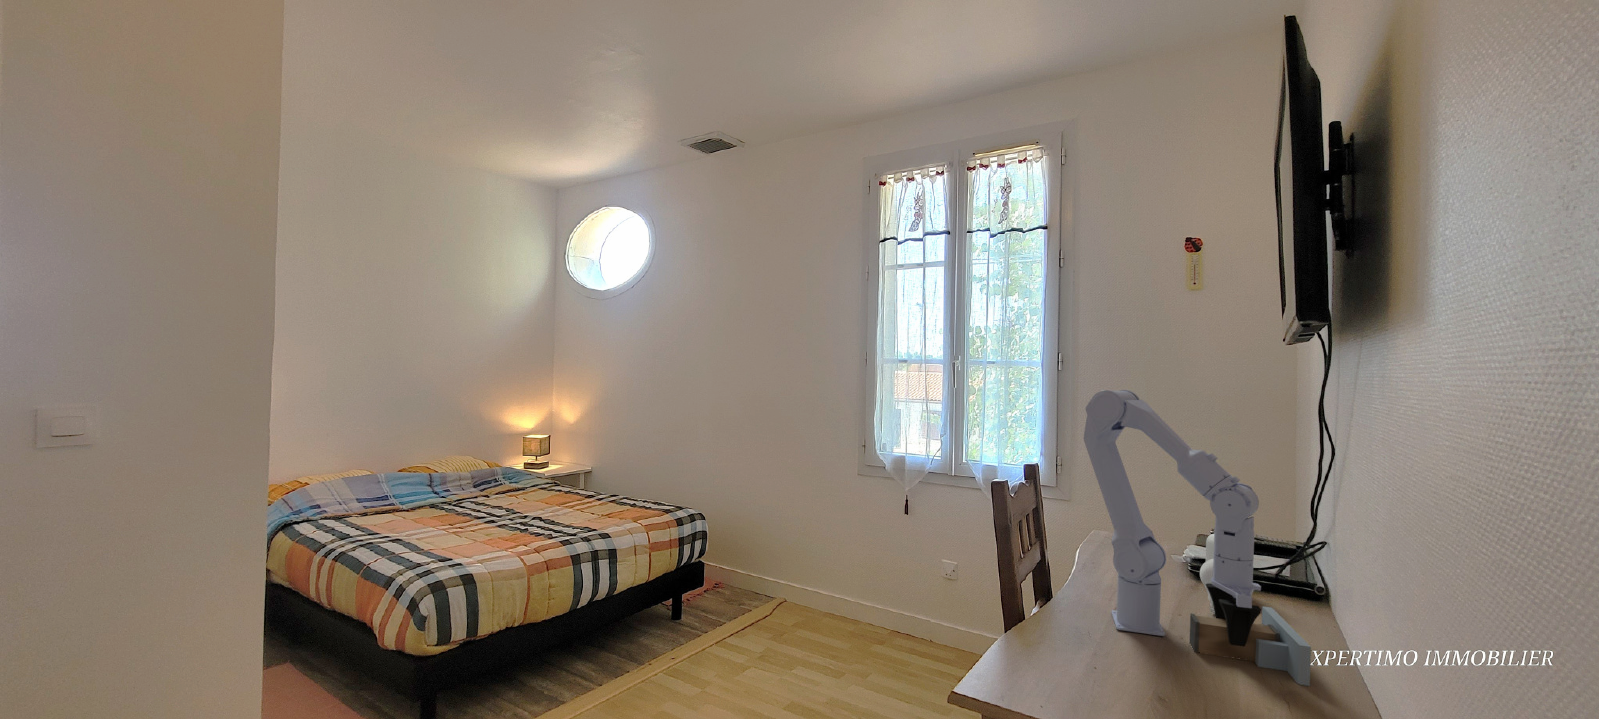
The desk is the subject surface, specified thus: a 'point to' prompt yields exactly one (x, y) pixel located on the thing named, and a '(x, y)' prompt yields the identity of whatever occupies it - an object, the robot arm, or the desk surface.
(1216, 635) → the half pipe ramp
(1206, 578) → the light bulb
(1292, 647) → the grey footed slab
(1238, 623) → the robot arm
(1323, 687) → the desk surface
